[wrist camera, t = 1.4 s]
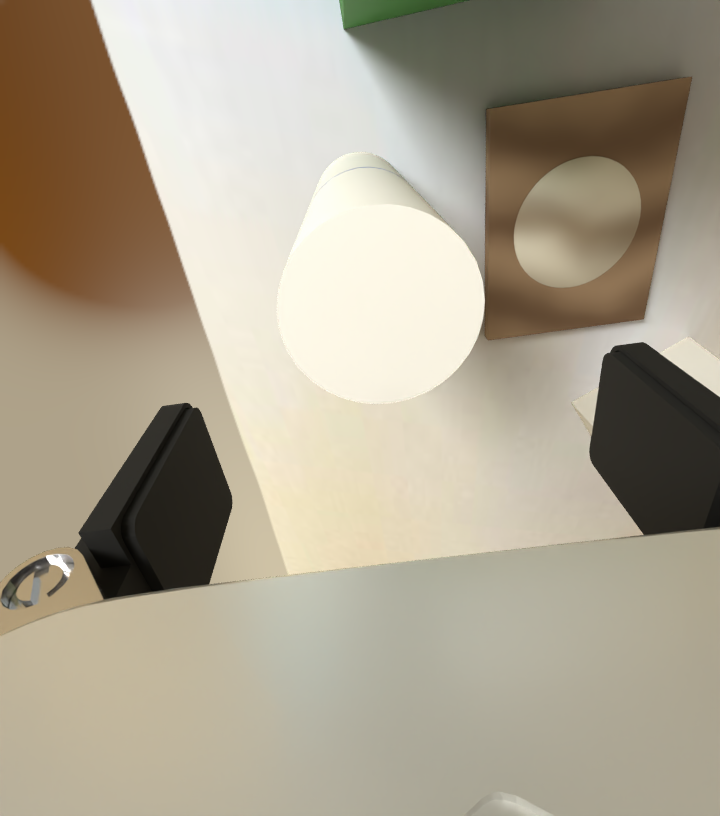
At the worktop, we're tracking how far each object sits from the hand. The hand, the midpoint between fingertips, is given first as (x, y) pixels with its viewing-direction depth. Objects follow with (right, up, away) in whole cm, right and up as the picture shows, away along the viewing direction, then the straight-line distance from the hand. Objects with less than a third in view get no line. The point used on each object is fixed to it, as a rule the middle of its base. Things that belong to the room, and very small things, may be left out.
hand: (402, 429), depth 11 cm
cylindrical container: (-1, +17, +26) cm, 31 cm away
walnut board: (+16, +16, +28) cm, 36 cm away
